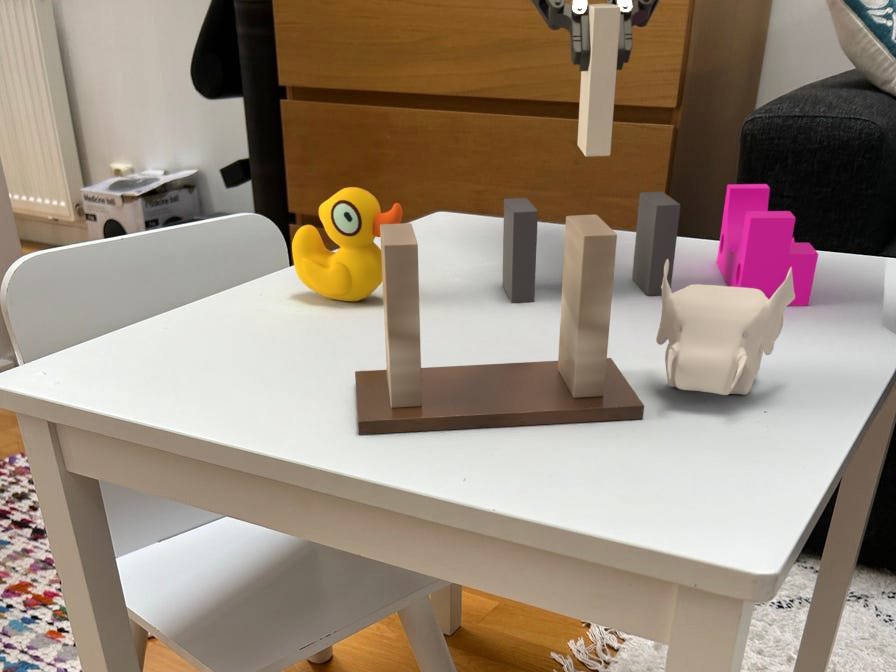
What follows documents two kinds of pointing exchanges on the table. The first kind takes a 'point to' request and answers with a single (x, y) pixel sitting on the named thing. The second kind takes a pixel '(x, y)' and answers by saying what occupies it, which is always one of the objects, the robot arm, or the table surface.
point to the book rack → (510, 384)
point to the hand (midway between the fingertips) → (602, 62)
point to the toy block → (762, 245)
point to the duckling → (344, 246)
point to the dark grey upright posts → (649, 255)
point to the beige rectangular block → (599, 81)
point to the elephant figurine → (719, 334)
